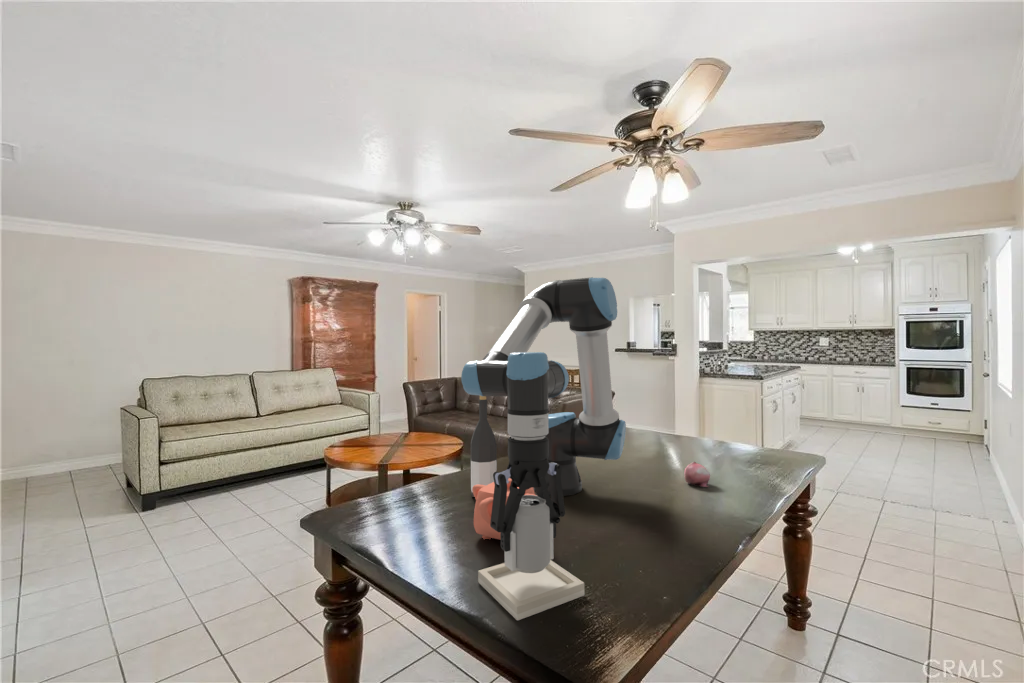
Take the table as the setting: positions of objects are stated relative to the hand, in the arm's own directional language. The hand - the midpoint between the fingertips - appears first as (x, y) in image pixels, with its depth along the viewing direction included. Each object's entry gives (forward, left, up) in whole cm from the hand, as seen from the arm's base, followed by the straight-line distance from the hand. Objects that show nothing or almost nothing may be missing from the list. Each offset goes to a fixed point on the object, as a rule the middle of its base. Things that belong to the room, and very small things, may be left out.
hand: (529, 561), depth 83 cm
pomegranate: (-23, +78, -5) cm, 81 cm away
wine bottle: (-51, +17, -5) cm, 54 cm away
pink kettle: (-23, +9, -5) cm, 25 cm away
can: (0, 0, -1) cm, 1 cm away
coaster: (0, 0, -5) cm, 5 cm away
